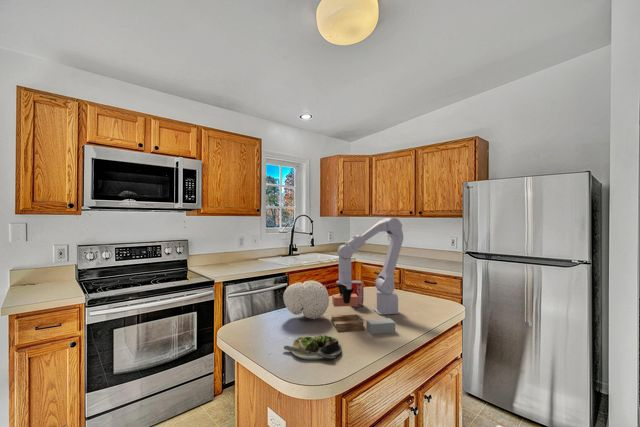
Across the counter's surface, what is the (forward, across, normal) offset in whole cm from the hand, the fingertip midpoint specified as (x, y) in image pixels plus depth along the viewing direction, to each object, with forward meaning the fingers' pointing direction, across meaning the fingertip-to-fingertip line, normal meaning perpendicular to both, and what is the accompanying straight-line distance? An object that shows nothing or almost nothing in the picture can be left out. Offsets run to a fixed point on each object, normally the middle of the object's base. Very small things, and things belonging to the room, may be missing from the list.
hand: (345, 301), depth 138 cm
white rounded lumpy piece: (+6, +3, -18) cm, 19 cm away
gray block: (+6, +21, +9) cm, 24 cm away
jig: (+6, +13, -3) cm, 15 cm away
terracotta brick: (+2, 0, 0) cm, 2 cm away
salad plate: (+6, +33, -18) cm, 38 cm away
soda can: (+6, -12, +9) cm, 16 cm away
